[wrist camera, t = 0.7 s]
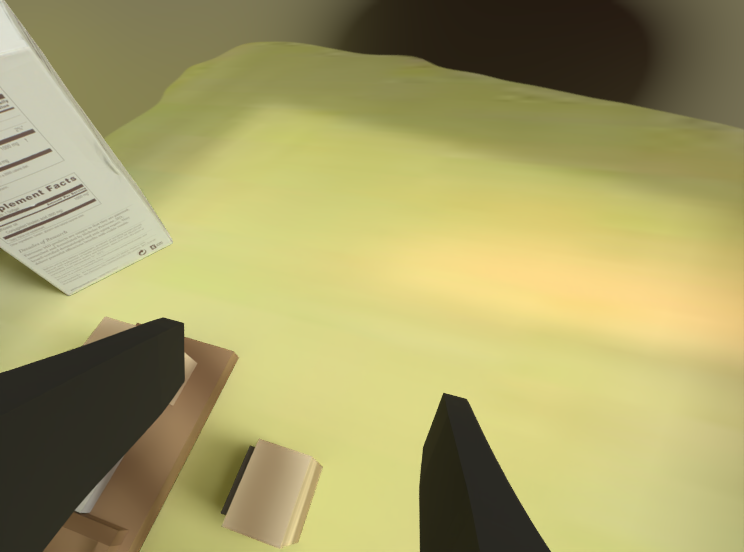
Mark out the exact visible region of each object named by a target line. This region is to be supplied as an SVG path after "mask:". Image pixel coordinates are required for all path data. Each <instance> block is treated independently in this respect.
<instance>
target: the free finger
mask: <svg viewBox="0 0 744 552" xmlns="http://www.w3.org/2000/svg"><path fill="white" fill-rule="evenodd" d="M322 468H323V466H321V465H320V464H319V463H318V462H317V461H316V460H315V459H314V458H313V457H312V456H309V455H306V454H303V453H300V452H297V451H294V450H291V449H288V448H285V447H282V446H279V445H276V444H273V443H270V442H267V441H264V440H261V439H259V440H258V442H257V444H256V447H253V446H250V447H249V449H248V452H247V454H246V456H245V458H244V461H243V463H242V465H241V468H240V470H239V472H238V474H237V477H236V479H235V481H234V484H233V486H232V488H231V490H230V493H229V495H228V497H227V500H226V502H225V504H224V507H223V509H222V511H221V514H224V515H226V517H225V519H224V521H223V524H222V527H224V528H227V529H230V530H232V531H235V532H237V533H240V534H243V535H245V536H248V537H251V538H253V539H256V540H258V541H261V542H264V543H266V544H269V545H271V546H274V547H277V548H279V549H280V548H283V547H286V546H288V545H291V544H294V543H297V542H298V541H299V538H300V535H301V532H302V529H303V526H304V523H305V520H306V517H307V514H308V511H309V508H310V505H311V502H312V499H313V496H314V493H315V489H316V486H317V483H318V480H319V477H320V474H321V471H322Z"/></svg>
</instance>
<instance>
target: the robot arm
mask: <svg viewBox="0 0 744 552" xmlns="http://www.w3.org/2000/svg"><path fill="white" fill-rule="evenodd" d="M184 382H185V353H184V323H182V322H178V321H174V320H170V319H167V318H160V319H156V320H153V321H150V322H147V323H144V324H141V325H139V326H136V327H133V328H130V329H127V330H125V331H122V332H119V333H117V334H114V335H111V336H108V337H106V338H103V339H100V340H97V341H95V342H92V343H89V344H86V345H83V346H81V347H78V348H75V349H72V350H70V351H67V352H64V353H61V354H58V355H55V356H52V357H49V358H46V359H43V360H39V361H36V362H33V363H30V364H27V365H24V366H21V367H18V368H15V369H12V370H9V371H6V372H2V373H0V552H43V551H44V549H45V548H46V547H47V545H48V544H49V543H50V542H51V540H52V539H53V538H54V536H55V535H56V534H57V533H58V531H59V530H60V529H61V527H62V526H63V525H64V524H65V522H66V521H67V520H68V518H69V517H70V516H71V515H72V513H73V512H74V511H75V510H76V508H77V507H78V506H79V505H80V504H81V503H82V501H83V500H84V499H85V498H86V497H87V496H88V494H89V493H90V492H91V491H92V490H93V489H94V488H95V486H96V485H97V484H98V483H99V482H100V481H101V480H102V479H103V478H104V477H105V476H106V475H107V473H108V472H109V471H110V470H111V469H112V468H113V467H114V466H115V465H116V464H117V463H118V461H119V460H120V459H121V458H122V457H123V456H124V455H125V454H126V453H127V452H128V451H129V450H130V448H131V447H132V446H133V445H134V444H135V443H136V442H137V441H138V440H139V439H140V438H141V436H142V435H143V434H144V433H145V432H146V431H147V430H148V429H149V428H150V426H151V425H152V424H153V423H154V422H155V421H156V420H157V419H158V418H159V416H160V415H161V414H162V413H163V411H164V410H165V409H166V407H167V406H168V405H169V403H170V402H171V401H172V399H173V398H174V396H175V395H176V394H177V392H178V391H179V389H180V388H181V386H182V385H183V383H184ZM419 509H420V552H551V551H550V550H549V548H548V547H547V545H546V544H545V542H544V540H543V539H542V537H541V536H540V534H539V533H538V531H537V529H536V528H535V526H534V525H533V523H532V521H531V520H530V518H529V516H528V515H527V513H526V511H525V510H524V508H523V506H522V505H521V503H520V501H519V499H518V498H517V496H516V494H515V492H514V491H513V489H512V487H511V485H510V484H509V482H508V480H507V478H506V476H505V474H504V472H503V471H502V469H501V467H500V465H499V463H498V461H497V459H496V458H495V456H494V454H493V452H492V450H491V448H490V446H489V444H488V442H487V440H486V438H485V436H484V434H483V432H482V429H481V427H480V425H479V423H478V421H477V419H476V417H475V415H474V413H473V410H472V408H471V406H470V404H469V402H468V401H467V399H465V398H461V397H457V396H453V395H450V394H446V393H443V396H442V398H441V401H440V404H439V406H438V409H437V412H436V414H435V417H434V420H433V422H432V425H431V428H430V430H429V433H428V436H427V438H426V441H425V444H424V446H423V454H422V463H421V474H420V485H419Z"/></svg>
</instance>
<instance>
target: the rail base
mask: <svg viewBox="0 0 744 552" xmlns="http://www.w3.org/2000/svg"><path fill="white" fill-rule="evenodd" d="M139 325H141V324H139V323H137V324H136V325H132V324H129V323H125V322H122V321H119V320H115V319H112V318H109V317H104V319H103V320H102V321H101V322H100V324H99V325H98V326H97V328H96V329H95V330H94V331H93V333H92V334H91V335H90V337H89V338H88V339H87V341H86V342H85V343H84V344H83V345H86V344H89V343H92V342H95V341H97V340H100V339H103V338H106V337H108V336H111V335H114V334H117V333H119V332H122V331H125V330H127V329H130V328H133V327H136V326H139ZM184 353H185V382H184V383H183V385H182V386H181V388H180V389H179V391H178V392H177V394H176V395H175V396H174V398H173V399H172V401H171V402H170V403H169V405H168V406H167V407H166V409H165V410H164V411H163V413H162V414H161V415H160V416H159V418H158V419H157V420H156V421H155V422H154V423H153V424H152V425H151V426H150V428H149V429H148V430H147V431H146V432H145V433H144V434H143V435H142V436H141V438H140V439H139V440H138V441H137V442H136V443H135V444H134V445H133V446H132V447H131V448H130V450H129V451H128V452H127V453H126V454H125V455H124V456H123V457H122V458H121V459H120V460H119V461H118V463H117V464H116V465H115V466H114V467H113V468H112V469H111V470H110V471H109V472H108V473H107V475H106V476H105V477H104V478H103V479H102V480H101V481H100V482H99V483H98V484H97V485H96V486H95V488H94V489H93V490H92V491H91V492H90V493H89V494H88V496H87V497H86V498H85V499H84V500H83V501H82V503H81V504H80V505H79V506H78V507H77V508H76V510H75V511H74V512H73V513H72V515H71V516H70V517H69V518H68V520H67V521H66V522H65V524H64V525H63V526H62V527H61V529H60V530H59V531H58V533H57V534H56V535H55V536H54V538H53V539H52V540H51V542H50V543H49V544H48V545H47V547H46V548H45V549H44V551H43V552H139V551H140V549H141V547H142V545H143V543H144V541H145V539H146V537H147V535H148V533H149V531H150V529H151V527H152V525H153V523H154V521H155V520H156V518H157V516H158V514H159V512H160V510H161V508H162V506H163V504H164V502H165V500H166V498H167V496H168V494H169V492H170V490H171V488H172V486H173V485H174V483H175V481H176V479H177V477H178V475H179V473H180V471H181V469H182V467H183V465H184V463H185V461H186V459H187V457H188V455H189V453H190V451H191V450H192V448H193V446H194V444H195V442H196V440H197V438H198V436H199V434H200V432H201V430H202V428H203V426H204V424H205V422H206V420H207V418H208V416H209V415H210V413H211V411H212V409H213V407H214V405H215V403H216V401H217V399H218V397H219V395H220V393H221V391H222V389H223V387H224V385H225V383H226V381H227V379H228V378H229V376H230V374H231V372H232V370H233V368H234V366H235V364H236V362H237V360H238V358H239V357H238V356H237V355H236V354H235V353H234V351H230V350H227V349H224V348H220V347H217V346H214V345H210V344H207V343H203V342H200V341H197V340H193V339H190V338H187V337H184Z"/></svg>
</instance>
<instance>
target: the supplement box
mask: <svg viewBox="0 0 744 552" xmlns="http://www.w3.org/2000/svg"><path fill="white" fill-rule="evenodd" d="M172 243H173V240H172V238H171V236H170V235H169V233H168V231H167V230H166V228H165V226H164V225H163V223H162V222H161V220H160V219H159V217H158V215H157V214H156V212H155V211H154V209H153V208H152V206H151V205H150V203H149V202H148V200H147V199H146V197H145V196H144V194H143V193H142V191H141V190H140V188H139V187H138V185H137V184H136V183H135V181H134V180H133V179H132V177H131V176H130V174H129V173H128V172H127V170H126V169H125V168H124V166H123V165H122V163H121V162H120V161H119V159H118V158H117V157H116V155H115V154H114V152H113V151H112V150H111V148H110V147H109V146H108V144H107V143H106V141H105V140H104V139H103V137H102V136H101V135H100V133H99V132H98V130H97V129H96V128H95V126H94V125H93V123H92V122H91V121H90V119H89V118H88V117H87V115H86V114H85V113H84V111H83V110H82V108H81V107H80V106H79V105H78V103H77V102H76V100H75V99H74V98H73V96H72V95H71V93H70V92H69V90H68V89H67V88H66V86H65V85H64V83H63V82H62V80H61V79H60V77H59V76H58V74H57V73H56V72H55V70H54V69H53V67H52V66H51V64H50V63H49V61H48V60H47V58H46V57H45V55H44V54H43V52H42V51H41V50H40V48H39V47H38V45H37V44H36V43H35V41H34V40H33V39H32V37H31V36H30V35H29V34H28V32H27V30H25V28H24V26H23V25H22V24H21V23H20V21H19V20H18V18H17V17H16V16H15V14H14V13H13V11H12V10H11V9H10V8H9V6H8V5H7V3H6V2H5V0H0V248H1V249H3V250H4V251H6V252H7V253H8V254H10V255H11V256H13V257H14V258H15V259H17V260H18V261H20V262H21V263H22V264H24V265H25V266H27V267H28V268H30V269H31V270H32V271H34V272H35V273H37V274H38V275H39V276H41V277H42V278H44V279H45V280H47V281H48V282H49V283H51V284H52V285H54V286H55V287H56V288H58V289H59V290H61V291H62V292H64V293H65V294H66V295H68V296H70V295H72V294H74V293H76V292H78V291H80V290H82V289H84V288H86V287H88V286H90V285H92V284H94V283H96V282H98V281H100V280H102V279H104V278H106V277H108V276H110V275H112V274H114V273H116V272H118V271H120V270H122V269H123V268H125V267H127V266H129V265H131V264H133V263H135V262H137V261H139V260H141V259H143V258H145V257H147V256H149V255H151V254H153V253H155V252H157V251H159V250H161V249H163V248H165V247H167V246H169V245H171V244H172Z"/></svg>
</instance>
